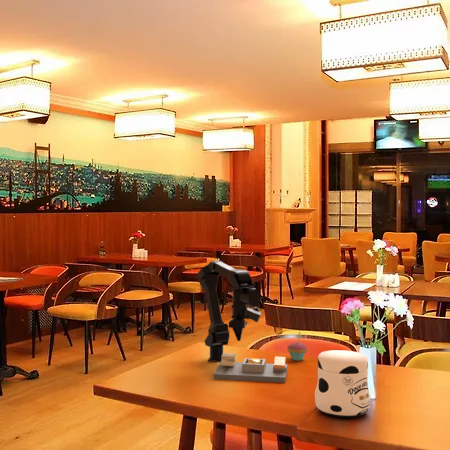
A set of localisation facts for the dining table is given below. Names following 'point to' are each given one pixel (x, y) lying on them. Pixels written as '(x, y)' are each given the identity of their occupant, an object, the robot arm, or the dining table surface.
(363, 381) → the milk container
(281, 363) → the rocker
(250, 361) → the button
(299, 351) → the cupcake
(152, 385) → the dining table surface
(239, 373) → the panel
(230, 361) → the tan rectangular prism
